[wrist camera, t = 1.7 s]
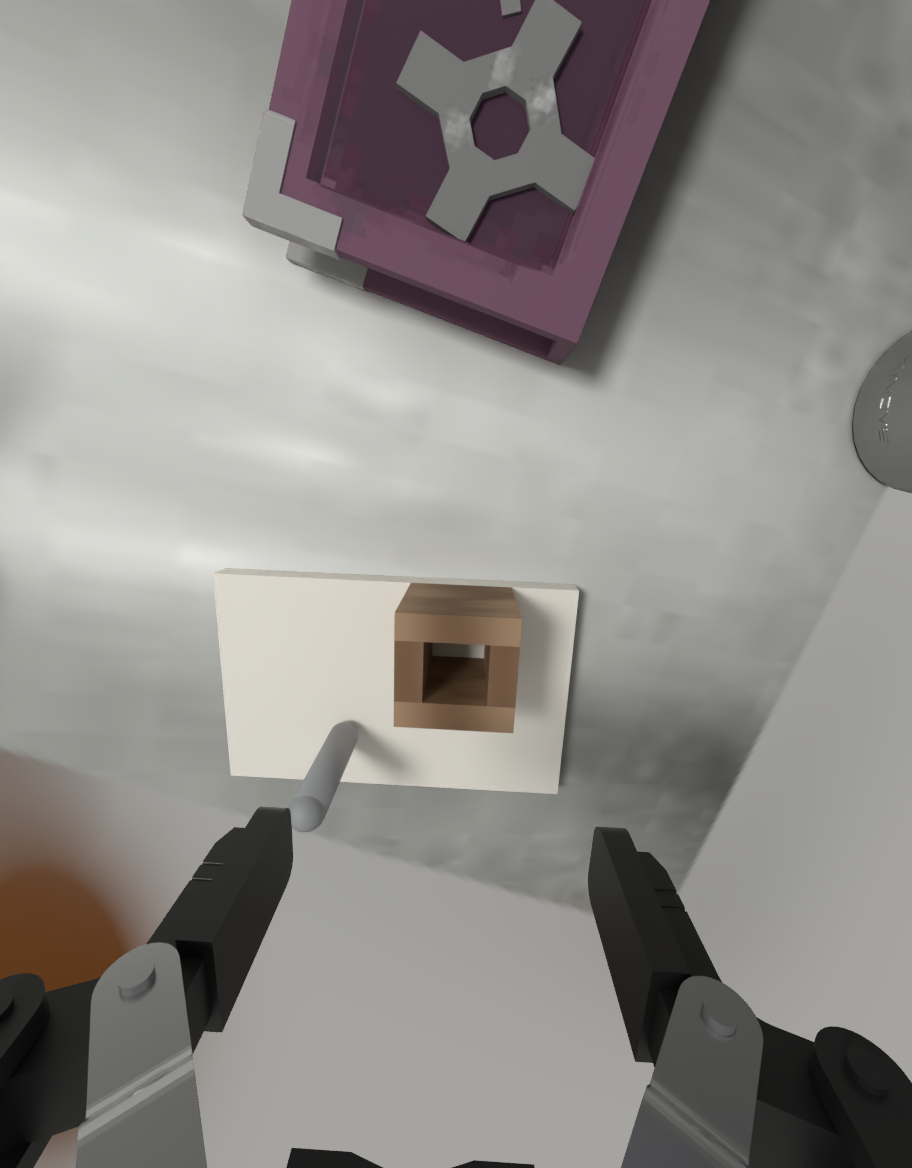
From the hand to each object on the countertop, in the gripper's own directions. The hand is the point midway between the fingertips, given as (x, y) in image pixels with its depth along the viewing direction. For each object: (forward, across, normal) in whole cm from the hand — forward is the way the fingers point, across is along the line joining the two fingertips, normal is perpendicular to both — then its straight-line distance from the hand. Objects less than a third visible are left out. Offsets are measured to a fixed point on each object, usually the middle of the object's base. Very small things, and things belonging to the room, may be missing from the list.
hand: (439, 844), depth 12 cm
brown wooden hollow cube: (+16, 0, 0) cm, 17 cm away
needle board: (+18, +4, +4) cm, 19 cm away
